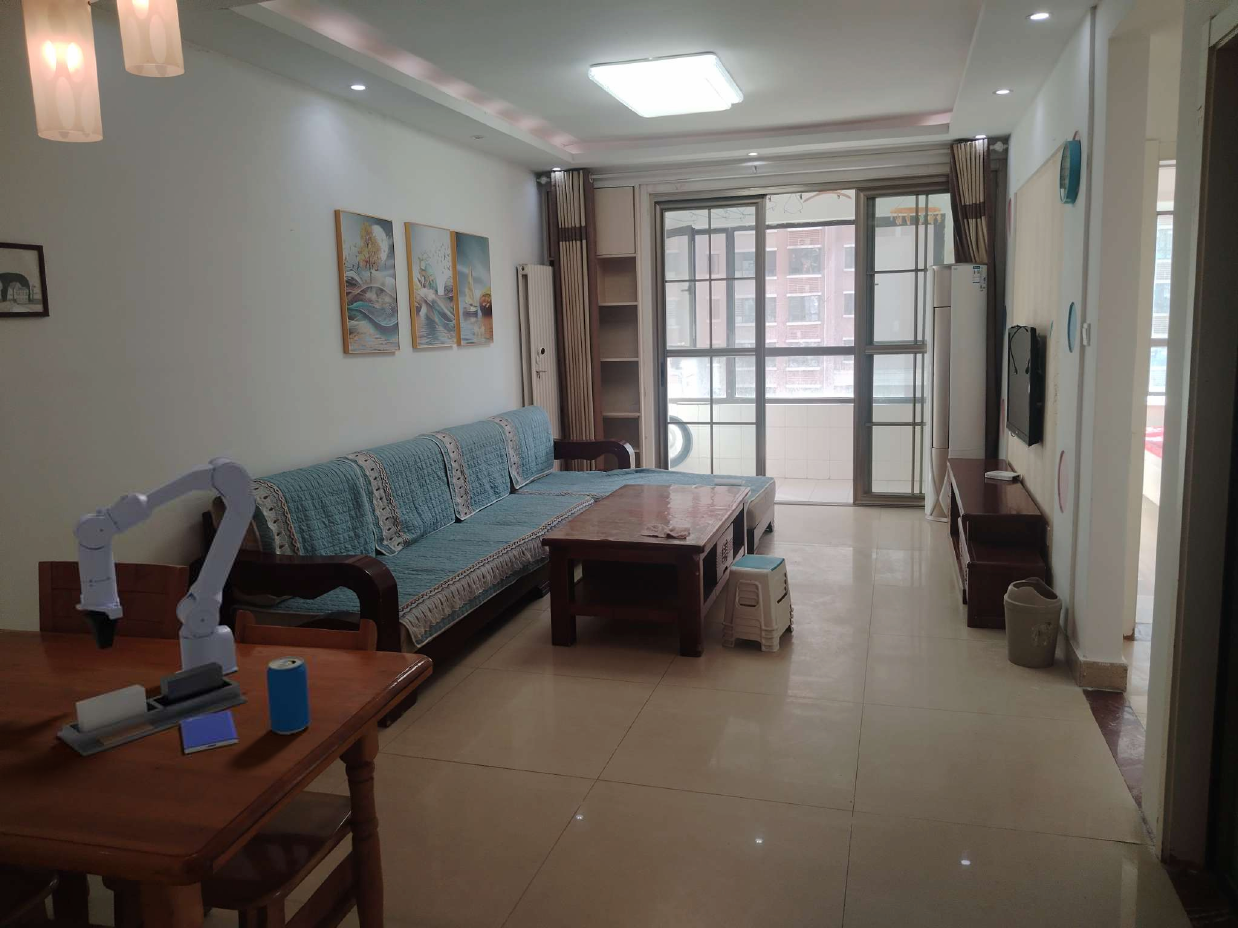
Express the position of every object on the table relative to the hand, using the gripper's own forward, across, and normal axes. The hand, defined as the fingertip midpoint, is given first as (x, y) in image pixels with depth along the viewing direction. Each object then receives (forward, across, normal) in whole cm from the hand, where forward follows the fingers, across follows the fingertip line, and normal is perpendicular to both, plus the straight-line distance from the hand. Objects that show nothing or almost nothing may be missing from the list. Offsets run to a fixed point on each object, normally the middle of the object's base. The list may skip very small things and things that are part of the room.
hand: (105, 647), depth 172 cm
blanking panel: (+9, +18, -6) cm, 21 cm away
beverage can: (+10, +41, +14) cm, 44 cm away
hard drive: (+10, +32, +4) cm, 34 cm away
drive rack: (+9, +18, +1) cm, 20 cm away
